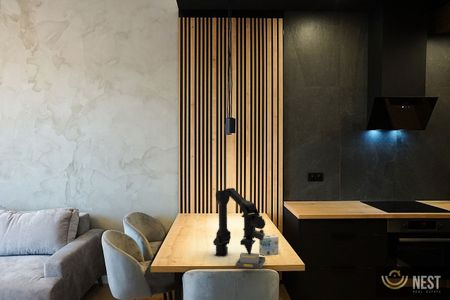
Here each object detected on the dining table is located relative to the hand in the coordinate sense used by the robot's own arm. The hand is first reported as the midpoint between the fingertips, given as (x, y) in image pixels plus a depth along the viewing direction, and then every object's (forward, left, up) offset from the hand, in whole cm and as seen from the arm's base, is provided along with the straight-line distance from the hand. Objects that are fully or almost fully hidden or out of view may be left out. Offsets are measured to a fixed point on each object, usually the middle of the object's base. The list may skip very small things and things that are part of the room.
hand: (249, 254), depth 203 cm
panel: (0, 0, -6) cm, 6 cm away
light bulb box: (+7, +25, -7) cm, 27 cm away
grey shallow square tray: (0, +3, -6) cm, 7 cm away
